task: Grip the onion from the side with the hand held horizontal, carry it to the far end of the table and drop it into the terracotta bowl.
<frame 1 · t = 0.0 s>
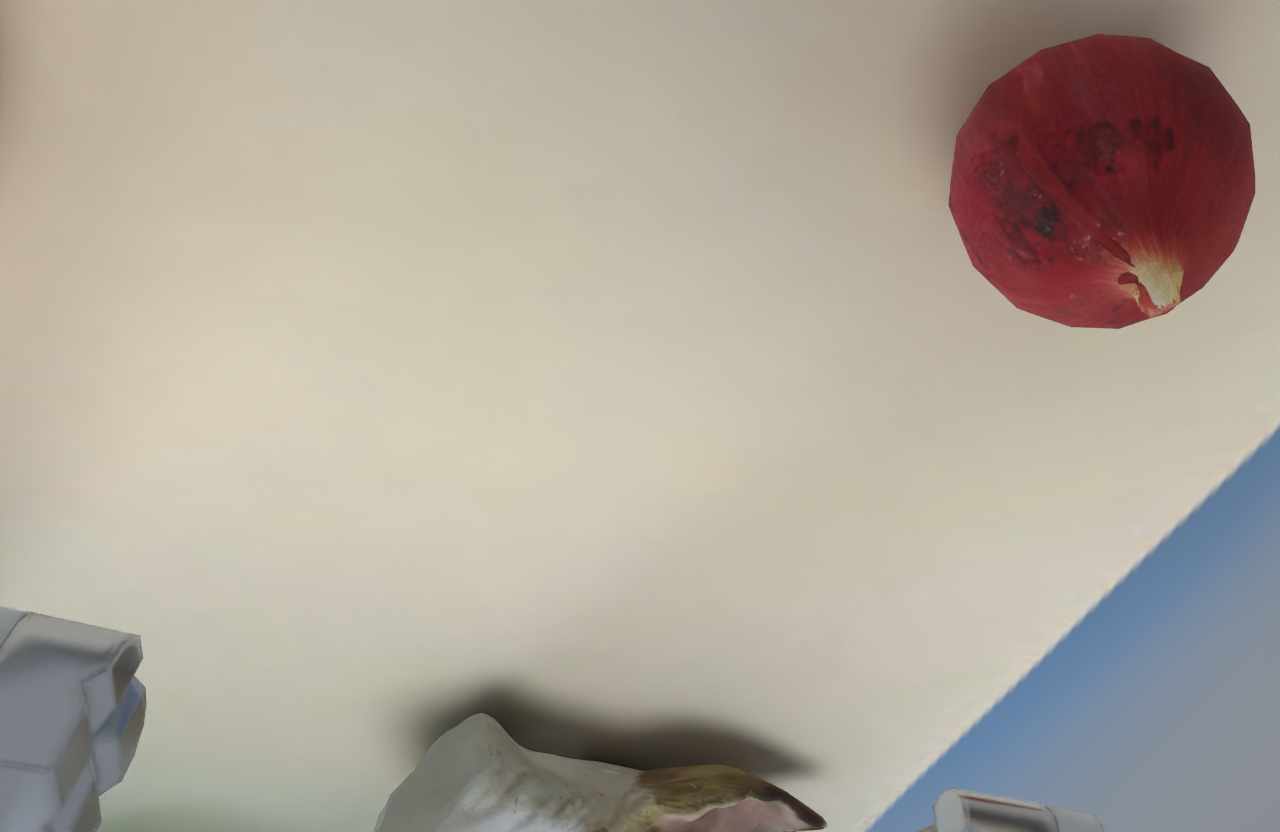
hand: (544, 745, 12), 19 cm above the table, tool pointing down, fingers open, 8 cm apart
onion: (1054, 110, 27), on the table
ceramic sculpture: (588, 771, 43), on the table
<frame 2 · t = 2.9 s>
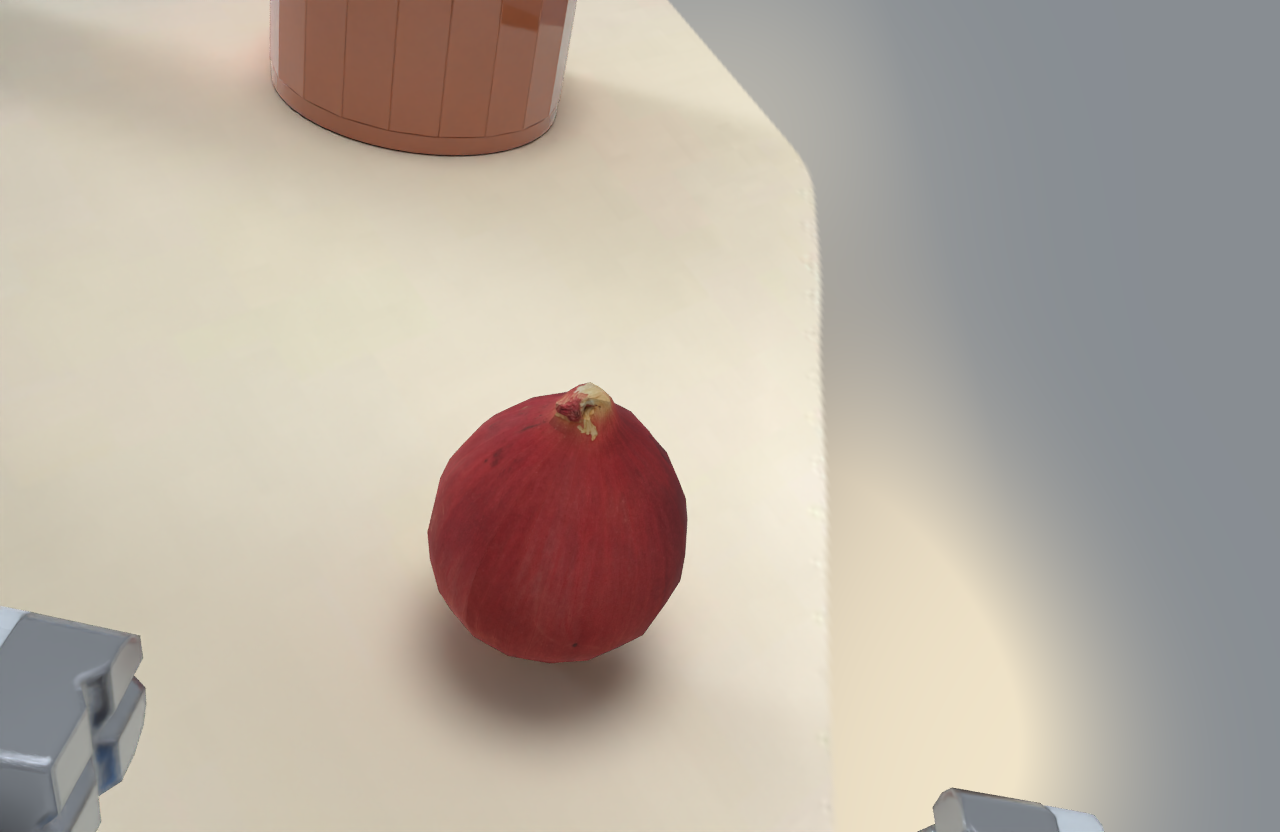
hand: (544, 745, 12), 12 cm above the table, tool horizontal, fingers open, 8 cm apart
onion: (534, 643, 29), on the table
terracotta bowl: (417, 88, 51), on the table
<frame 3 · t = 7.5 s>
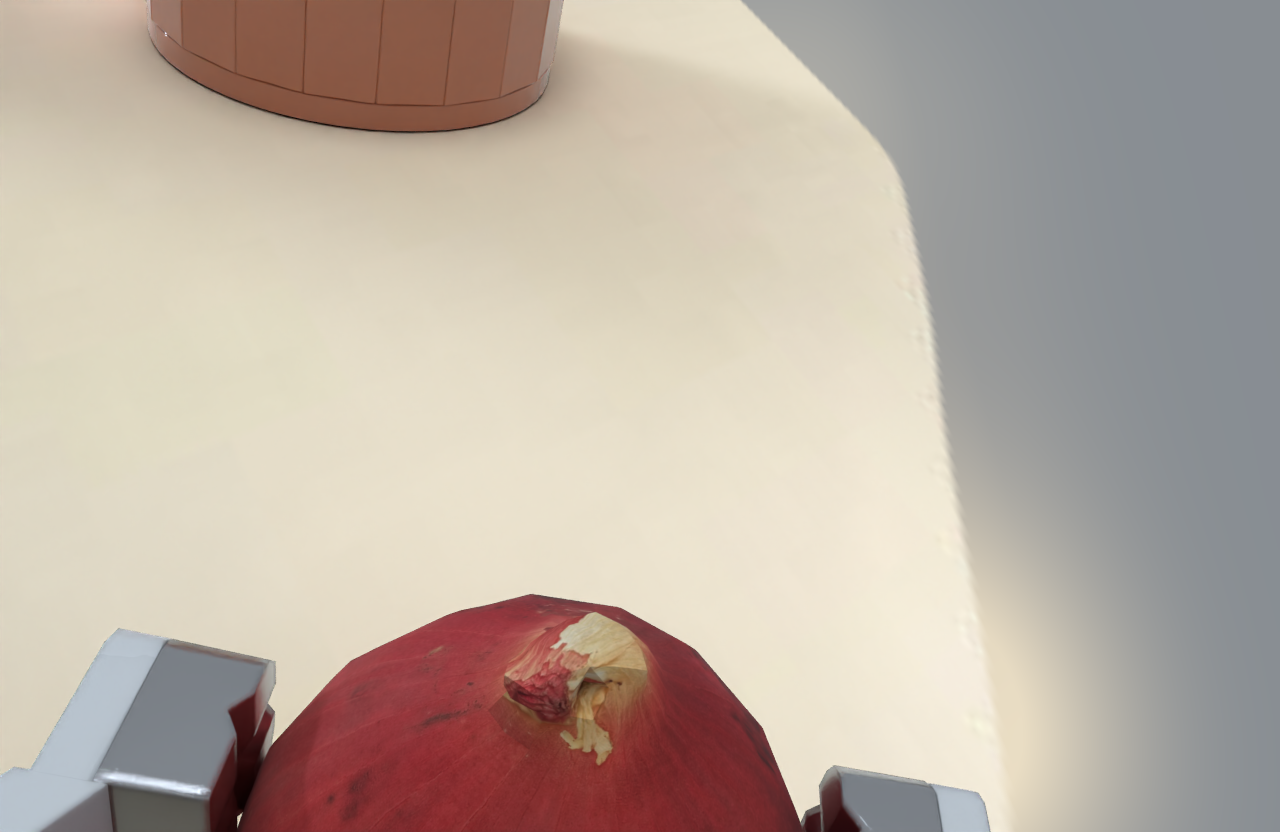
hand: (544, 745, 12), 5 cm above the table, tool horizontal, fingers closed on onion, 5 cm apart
terracotta bowl: (357, 43, 37), on the table
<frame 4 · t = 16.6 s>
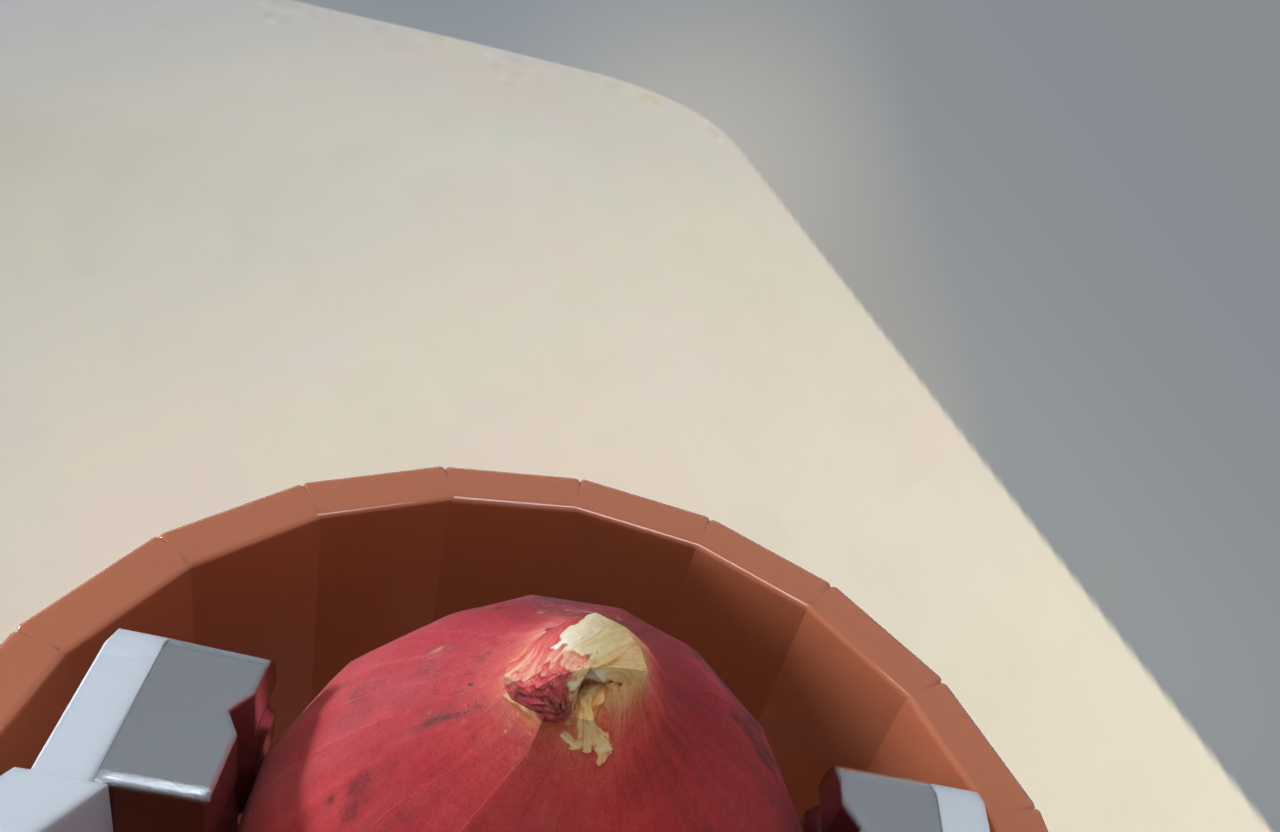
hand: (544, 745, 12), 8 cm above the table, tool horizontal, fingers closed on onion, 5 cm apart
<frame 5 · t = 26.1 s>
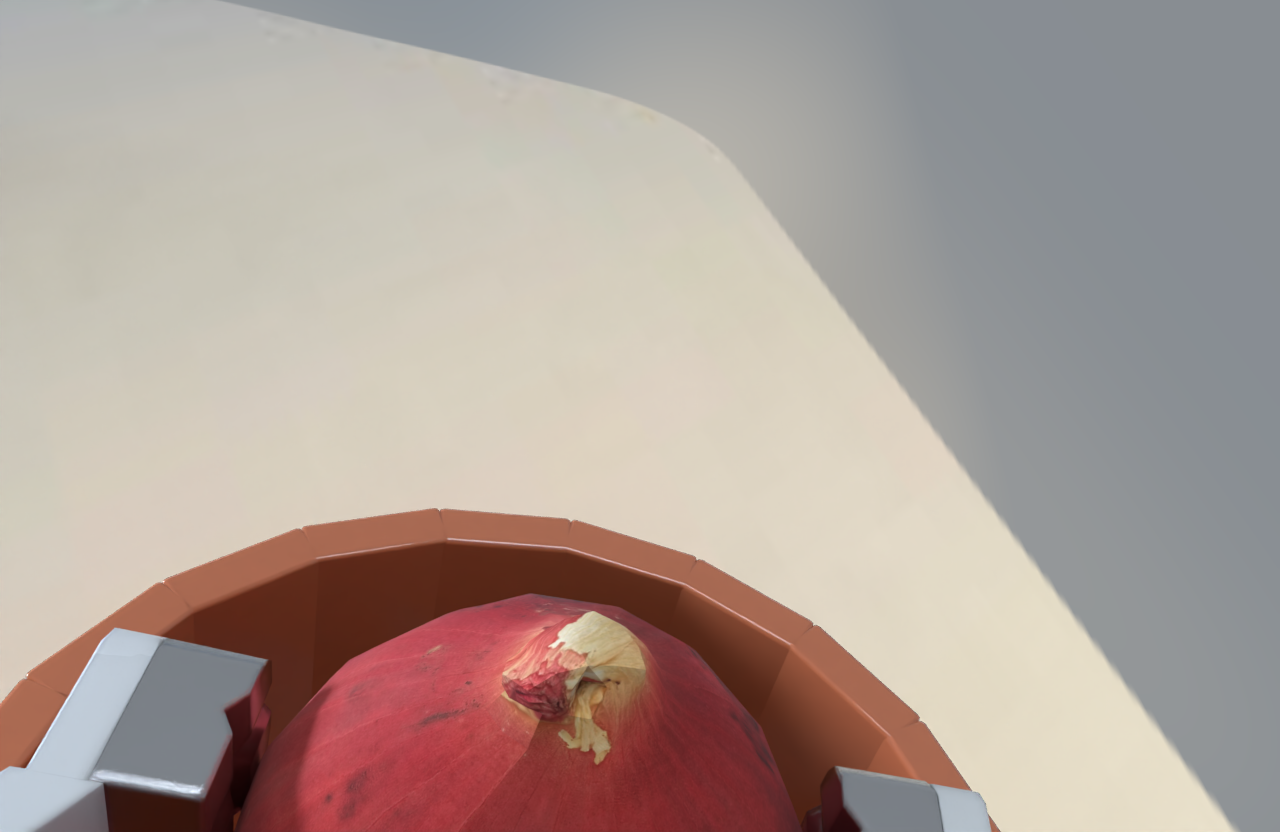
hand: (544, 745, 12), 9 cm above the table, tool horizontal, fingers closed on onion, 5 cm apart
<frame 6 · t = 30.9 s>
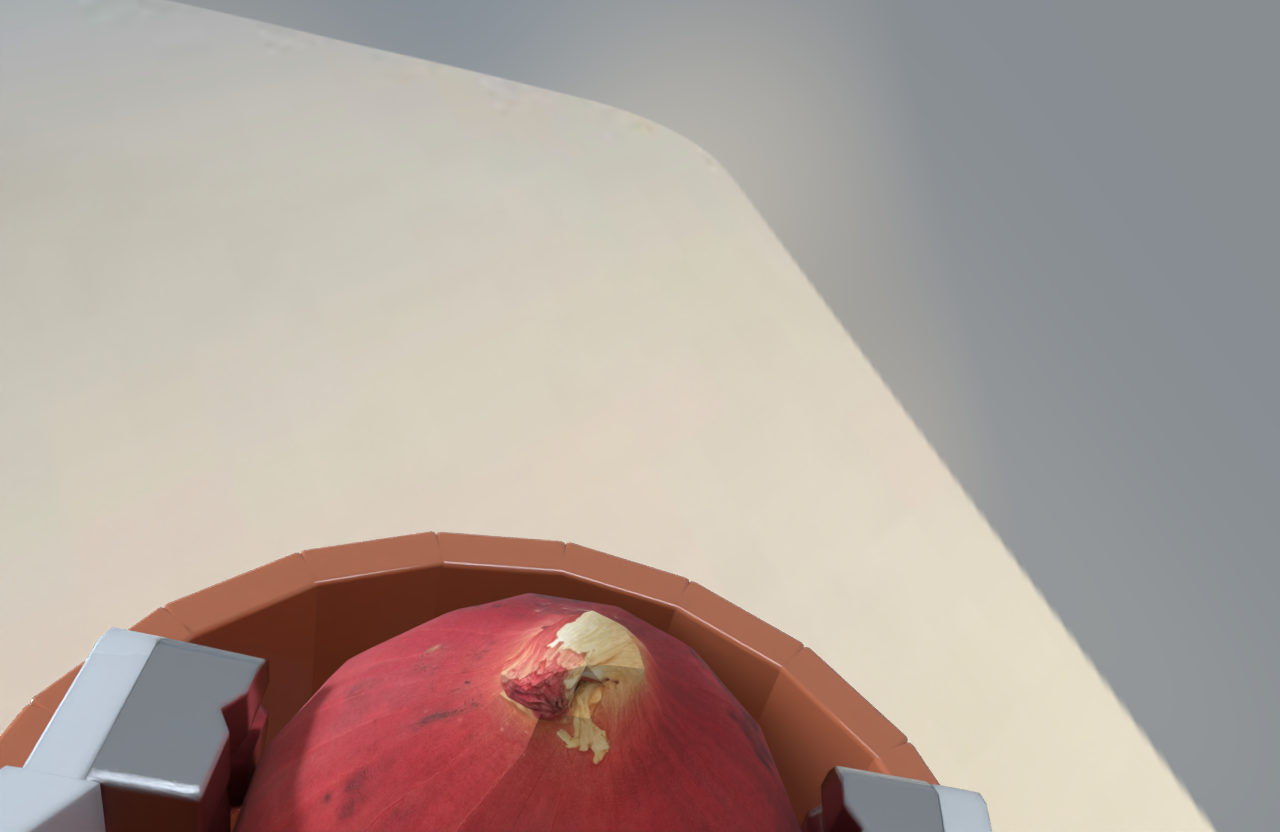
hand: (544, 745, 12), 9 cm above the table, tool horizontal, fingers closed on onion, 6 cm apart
when the fingers open (11 cm above the table, at t = 35.1 s): onion drops 5 cm, resting on terracotta bowl.
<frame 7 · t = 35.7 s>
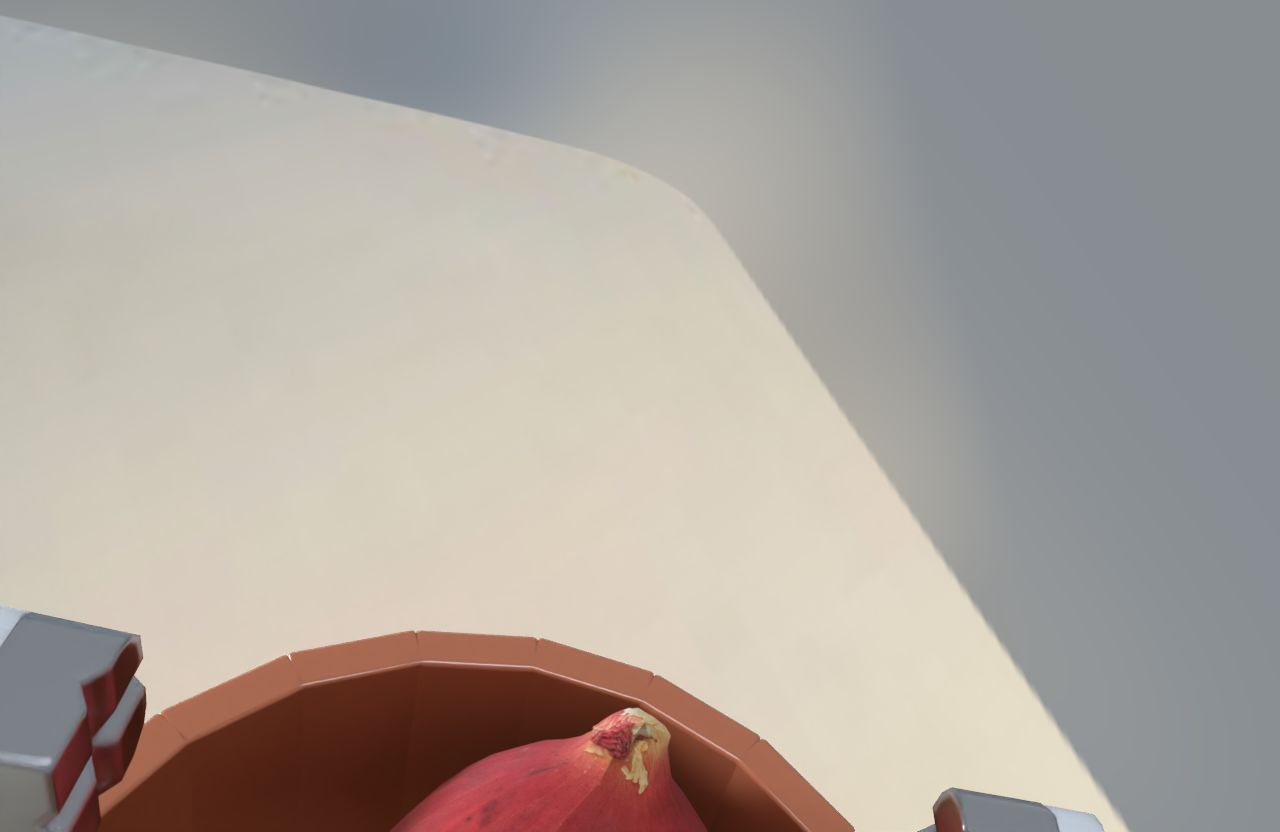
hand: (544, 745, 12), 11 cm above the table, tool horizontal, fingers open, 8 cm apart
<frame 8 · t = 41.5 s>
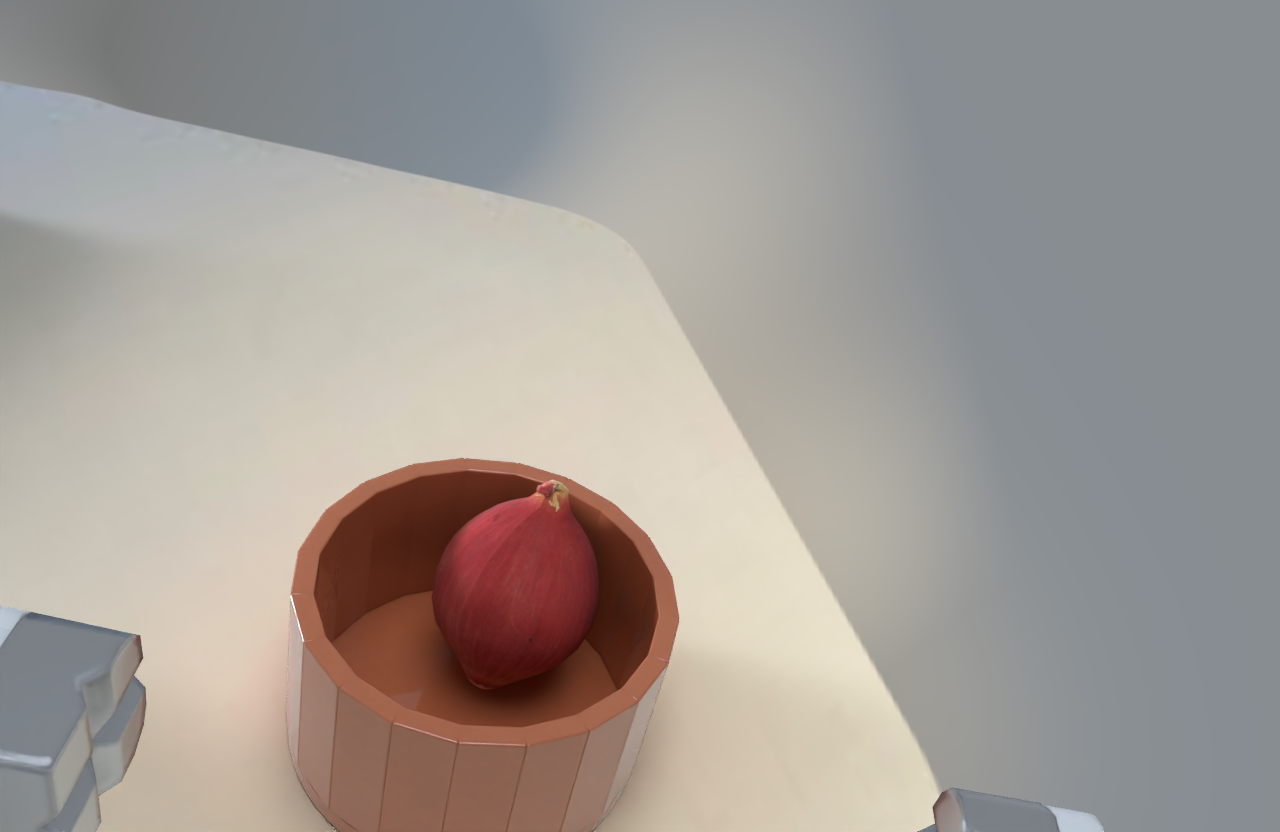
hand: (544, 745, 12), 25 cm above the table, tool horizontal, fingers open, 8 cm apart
onion: (478, 690, 41), point 1 cm above the table, touching terracotta bowl
terracotta bowl: (466, 717, 42), on the table
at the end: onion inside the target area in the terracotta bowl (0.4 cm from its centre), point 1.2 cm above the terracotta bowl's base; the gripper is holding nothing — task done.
